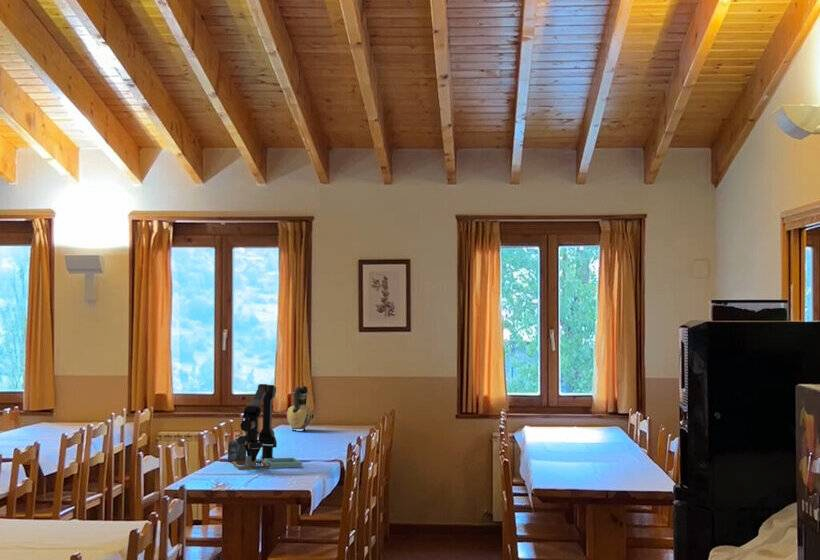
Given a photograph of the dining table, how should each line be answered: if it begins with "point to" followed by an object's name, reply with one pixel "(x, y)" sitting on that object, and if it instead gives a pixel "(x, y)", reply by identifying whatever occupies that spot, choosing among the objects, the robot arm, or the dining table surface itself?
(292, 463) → the bin
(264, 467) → the corral
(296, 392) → the amphora
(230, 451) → the box
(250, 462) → the slate block
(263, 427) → the robot arm
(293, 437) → the dining table surface
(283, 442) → the dining table surface
